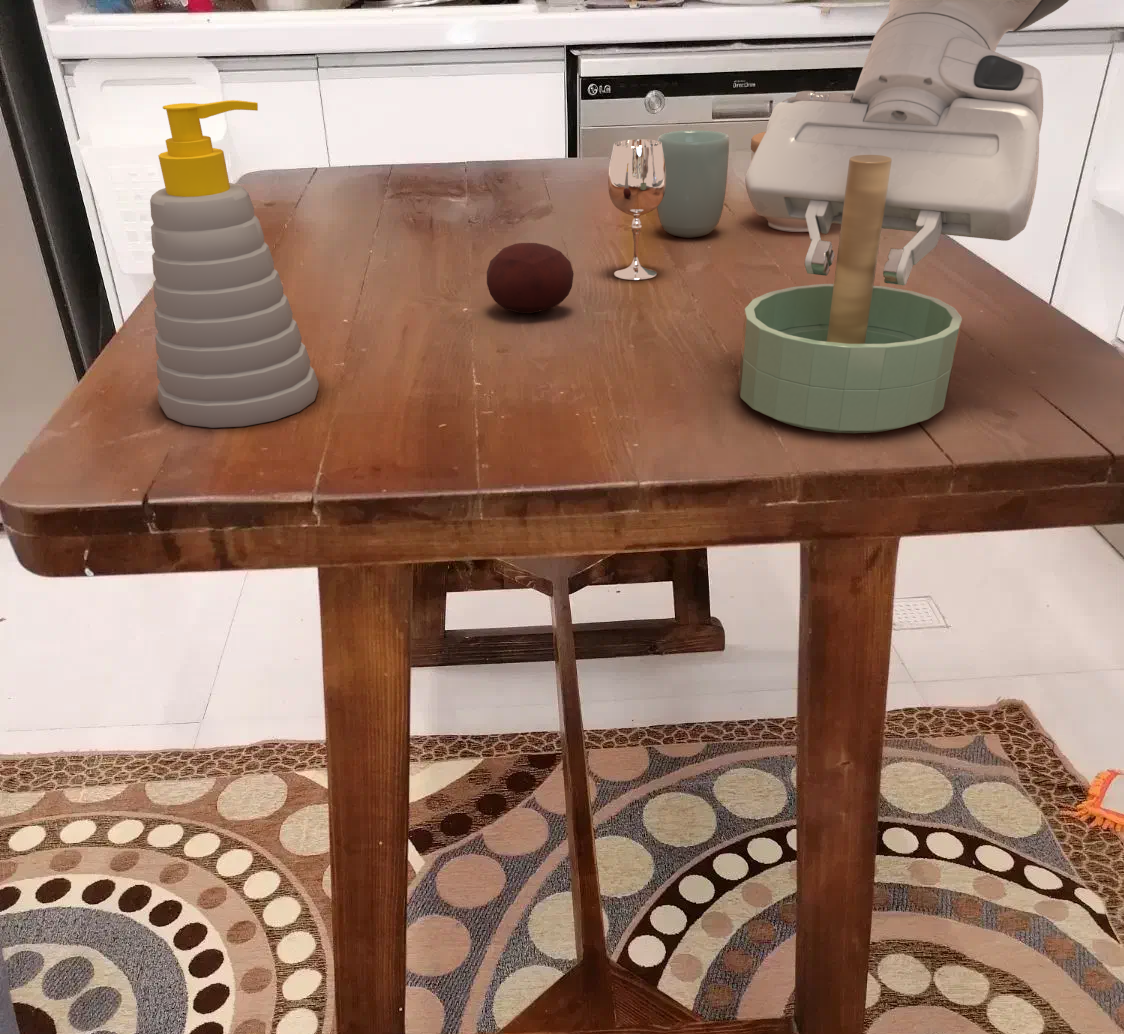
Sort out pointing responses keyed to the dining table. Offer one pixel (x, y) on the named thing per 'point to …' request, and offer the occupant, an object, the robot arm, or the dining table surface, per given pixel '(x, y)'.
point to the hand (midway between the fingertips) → (853, 275)
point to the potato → (529, 277)
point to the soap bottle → (219, 292)
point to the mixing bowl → (847, 360)
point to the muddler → (858, 247)
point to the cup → (693, 181)
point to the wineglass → (637, 190)
